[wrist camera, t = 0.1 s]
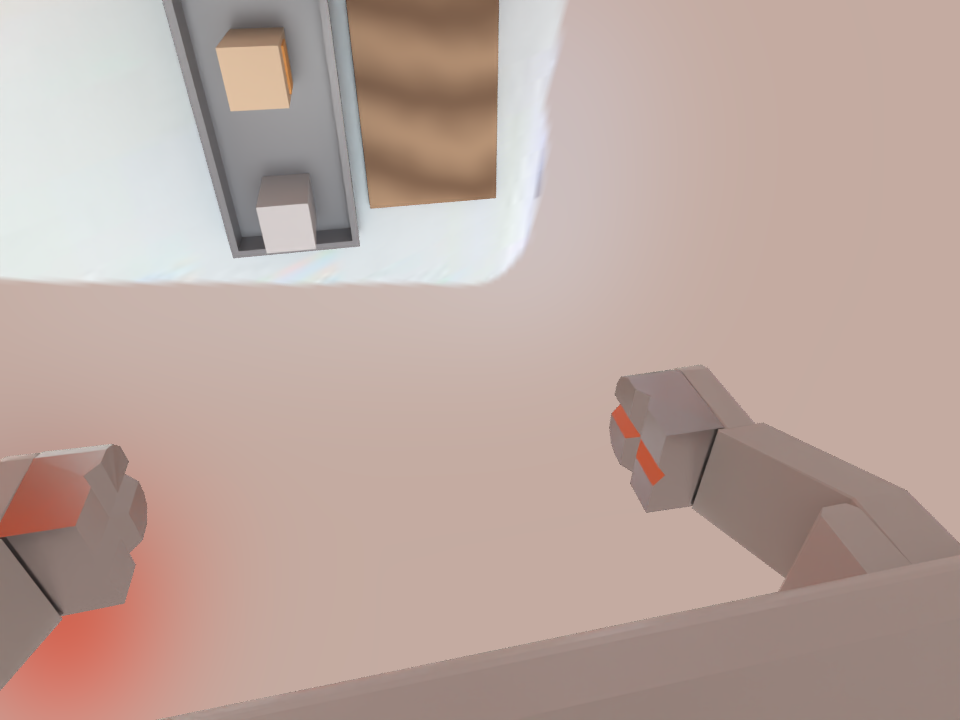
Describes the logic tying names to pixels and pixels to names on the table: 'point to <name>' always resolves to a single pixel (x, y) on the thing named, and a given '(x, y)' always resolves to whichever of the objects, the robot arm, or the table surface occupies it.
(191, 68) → the bin
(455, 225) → the table surface
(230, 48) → the labelled box
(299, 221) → the plain box
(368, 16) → the pad
